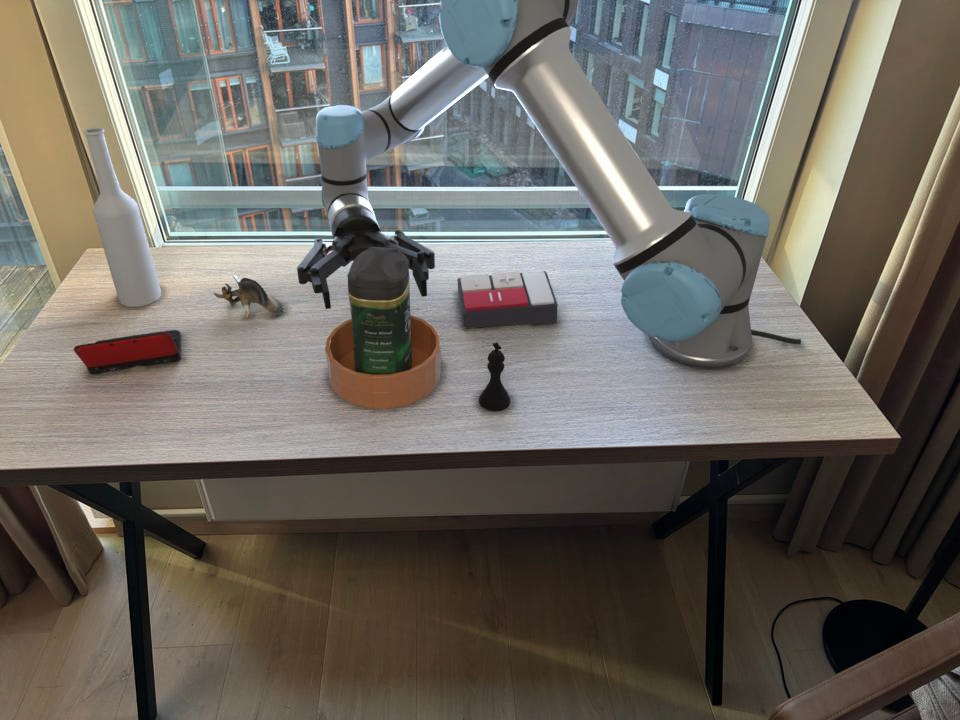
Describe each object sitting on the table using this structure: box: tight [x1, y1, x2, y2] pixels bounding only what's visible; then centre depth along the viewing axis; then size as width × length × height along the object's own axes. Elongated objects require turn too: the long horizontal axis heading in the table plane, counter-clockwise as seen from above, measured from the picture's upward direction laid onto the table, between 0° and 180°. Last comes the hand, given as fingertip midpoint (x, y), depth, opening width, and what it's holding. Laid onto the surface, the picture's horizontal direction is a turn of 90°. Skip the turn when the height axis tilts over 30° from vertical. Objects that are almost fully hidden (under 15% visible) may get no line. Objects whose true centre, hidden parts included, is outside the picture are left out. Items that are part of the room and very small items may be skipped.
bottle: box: [83, 126, 162, 308], centre depth 119 cm, size 7×7×28 cm
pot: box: [324, 314, 442, 410], centre depth 110 cm, size 16×16×6 cm
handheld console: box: [73, 329, 182, 375], centre depth 111 cm, size 12×11×7 cm
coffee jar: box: [346, 247, 412, 375], centre depth 106 cm, size 10×8×19 cm
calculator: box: [457, 269, 559, 329], centre depth 125 cm, size 11×4×15 cm
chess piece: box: [478, 342, 511, 412], centre depth 104 cm, size 4×4×10 cm
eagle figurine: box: [213, 274, 285, 319], centre depth 123 cm, size 8×7×9 cm
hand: (376, 294), depth 107 cm, fingers open, 13 cm apart
